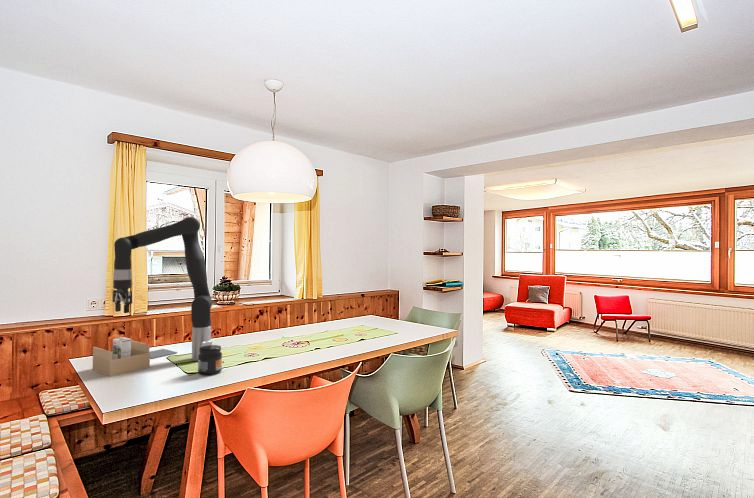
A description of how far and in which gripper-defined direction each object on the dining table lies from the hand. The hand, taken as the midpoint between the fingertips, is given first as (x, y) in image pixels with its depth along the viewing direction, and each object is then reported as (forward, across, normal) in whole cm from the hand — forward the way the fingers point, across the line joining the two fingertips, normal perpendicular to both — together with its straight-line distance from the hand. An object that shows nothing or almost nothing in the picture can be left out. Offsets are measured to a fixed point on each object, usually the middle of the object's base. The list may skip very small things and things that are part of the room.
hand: (122, 312), depth 194 cm
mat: (+27, +12, -24) cm, 38 cm away
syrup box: (+28, 0, 0) cm, 28 cm away
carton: (+27, 0, 0) cm, 27 cm away
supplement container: (+28, -41, -20) cm, 53 cm away
